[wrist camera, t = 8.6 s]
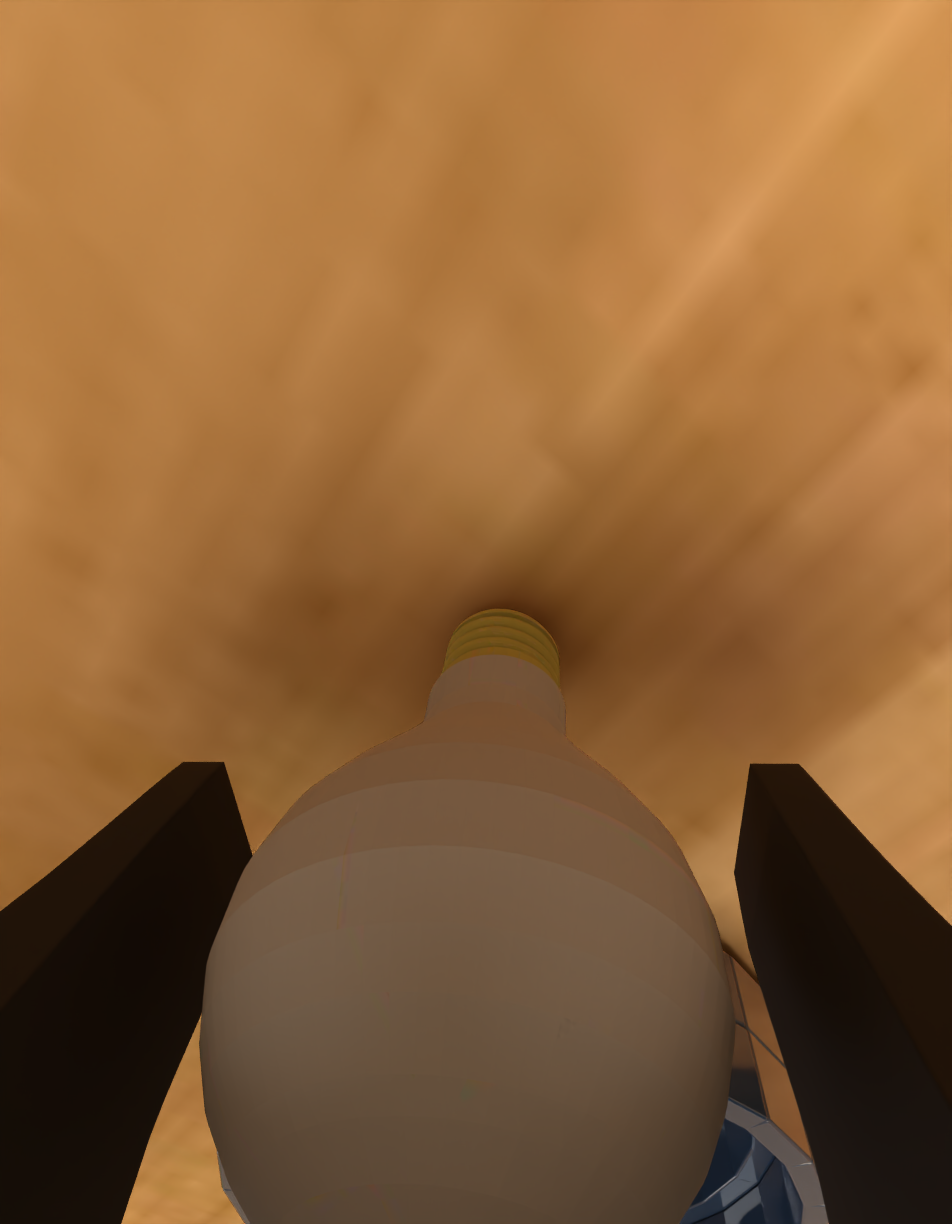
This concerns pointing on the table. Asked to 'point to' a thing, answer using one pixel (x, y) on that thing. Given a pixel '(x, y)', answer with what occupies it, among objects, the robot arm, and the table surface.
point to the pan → (747, 1132)
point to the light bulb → (469, 979)
